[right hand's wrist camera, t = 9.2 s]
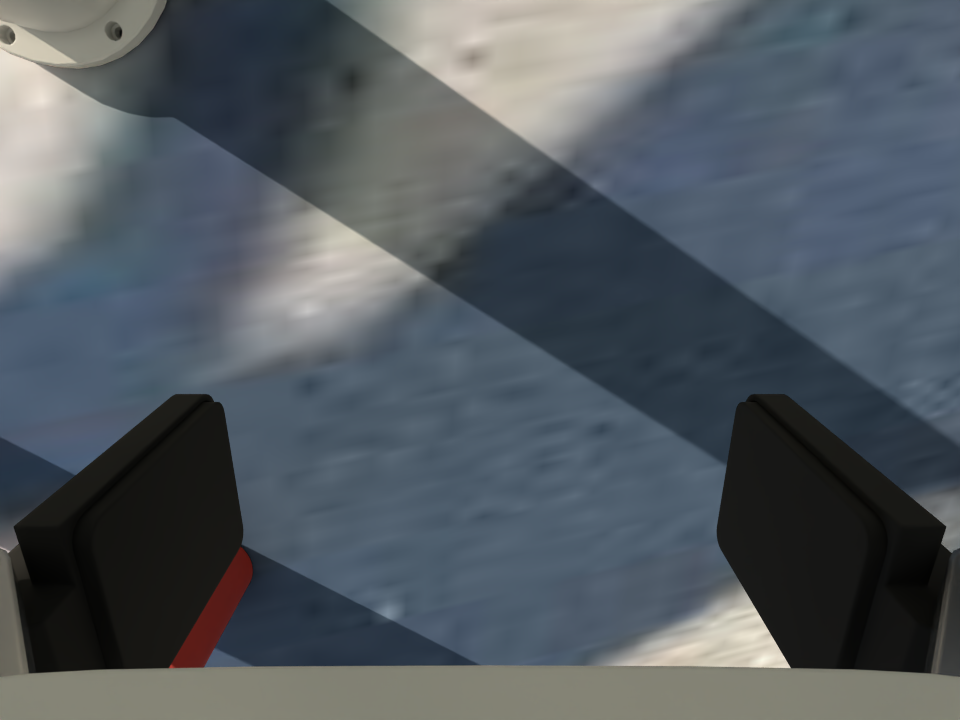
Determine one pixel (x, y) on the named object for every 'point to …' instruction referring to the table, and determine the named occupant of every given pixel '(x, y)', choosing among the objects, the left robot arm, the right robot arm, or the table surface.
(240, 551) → the can
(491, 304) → the table surface
